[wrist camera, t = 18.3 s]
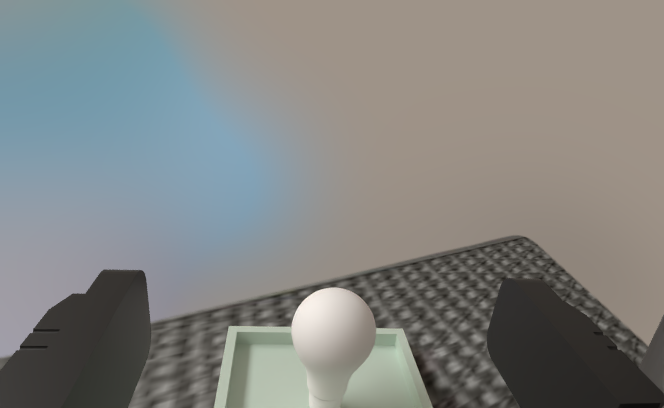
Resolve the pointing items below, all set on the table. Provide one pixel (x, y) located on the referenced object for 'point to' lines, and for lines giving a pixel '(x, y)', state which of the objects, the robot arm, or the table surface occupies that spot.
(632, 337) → the table surface
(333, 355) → the lightbulb
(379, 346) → the parts tray
